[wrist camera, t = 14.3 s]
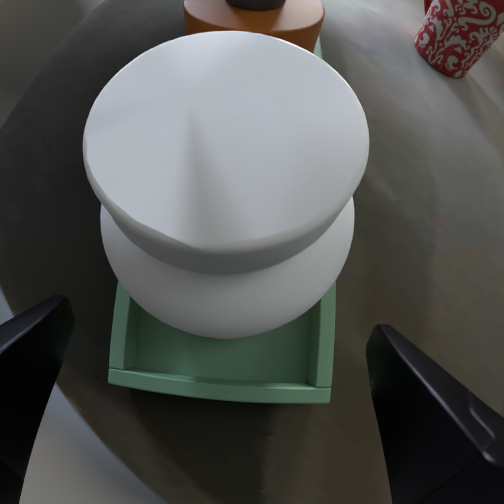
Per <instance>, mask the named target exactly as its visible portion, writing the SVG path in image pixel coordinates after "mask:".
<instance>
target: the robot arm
mask: <svg viewBox="0 0 504 504" xmlns="http://www.w3.org/2000/svg"><path fill="white" fill-rule="evenodd" d="M74 323H75V319H74V314H73V311H72V307H71V304H70V300H69V298H68V297H67V296H64V295H58V294H56V295H54V296H52V297H50V298H48V299H46V300H44V301H43V302H41V303H39V304H37V305H35V306H33V307H32V308H30V309H28V310H26V311H24V312H23V313H21V314H19V315H17V316H15V317H14V318H12V319H10V320H9V321H7V322H5V323H3V324H2V325H0V504H19V501H20V496H21V491H22V487H23V483H24V478H25V474H26V470H27V466H28V463H29V459H30V455H31V452H32V448H33V445H34V442H35V438H36V435H37V432H38V429H39V426H40V423H41V420H42V416H43V414H44V411H45V408H46V405H47V402H48V399H49V397H50V394H51V392H52V389H53V386H54V384H55V381H56V379H57V376H58V374H59V371H60V368H61V366H62V362H63V359H64V356H65V353H66V349H67V346H68V343H69V340H70V336H71V333H72V330H73V327H74ZM366 357H367V365H368V372H369V380H370V388H371V395H372V400H373V404H374V409H375V413H376V417H377V422H378V427H379V431H380V436H381V441H382V446H383V451H384V456H385V461H386V467H387V472H388V478H389V484H390V490H391V496H392V503H393V504H504V417H502V416H501V415H499V414H498V413H497V412H495V411H494V410H493V409H491V408H490V407H489V406H488V405H486V404H485V403H484V402H483V401H481V400H480V399H479V398H478V397H477V396H475V395H474V394H473V393H472V392H471V391H469V390H468V389H467V388H466V387H465V386H464V385H462V384H461V383H460V382H459V381H458V380H456V379H455V378H454V377H453V376H452V375H450V374H449V373H448V372H447V371H446V370H444V369H443V368H442V367H441V366H439V365H438V364H437V363H436V362H435V361H433V360H432V359H431V358H430V357H428V356H427V355H426V354H425V353H424V352H422V351H421V350H420V349H419V348H417V347H416V346H415V345H414V344H413V343H411V342H410V341H409V340H408V339H406V338H405V337H404V336H403V335H401V334H400V333H399V332H398V331H396V330H395V329H394V328H393V327H391V326H390V325H388V324H378V325H376V326H375V327H374V328H373V331H372V333H371V335H370V338H369V340H368V342H367V345H366Z"/></svg>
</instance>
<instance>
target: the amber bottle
mask: <svg viewBox="0 0 504 504" xmlns="http://www.w3.org/2000/svg"><path fill="white" fill-rule="evenodd" d="M183 7H184V20H185V31H186V36H188V35H193V34H198V33H205V32H215V31H243V32H251V33H257V34H263V35H267V36H271V37H274V38H278V39H282V40H285V41H287V42H289V43H292V44H294V45H297V46H299V47H301V48H303V49H305V50H307V51H309V52H311V53H312V54H313V53H314V49H315V46H316V42H317V39H318V36H319V32H320V29H321V25H322V22H323V18H324V14H325V13H324V8H323V5H322V4H321V2H320V1H319V0H184V4H183Z"/></svg>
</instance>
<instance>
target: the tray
mask: <svg viewBox="0 0 504 504" xmlns="http://www.w3.org/2000/svg"><path fill="white" fill-rule="evenodd" d="M313 54H314V55H316V56H317V57H319V58H320V59H322V60H323V58H322V51H321V44H320V38H319V36H318V39H317V42H316V46H315V49H314V53H313ZM335 304H336V280H335V282H334V283H333V284H332V286H331V287H330V288H329V290H328V291H327V292H326V293H325V294H324V296H323V297H322V298H321V299H320V300H319V301H318V302H317V303H316V304H315V305H314V306H312V307H311V308H310V309H309V310H307V311H306V312H305V313H303V314H302V315H300V316H299V317H297V318H296V319H294V320H292V321H290V322H288V323H286V324H284V325H282V326H280V327H278V328H276V329H273V330H271V331H268V332H265V333H262V334H258V335H254V336H250V337H246V338H242V339H234V340H222V339H215V338H209V337H204V336H198V335H194V334H191V333H188V332H185V331H182V330H179V329H177V328H174V327H172V326H170V325H168V324H166V323H164V322H162V321H160V320H159V319H157V318H155V317H154V316H152V315H151V314H150V313H148V312H147V311H145V310H144V309H143V308H142V307H141V306H140V305H139V304H137V303H136V301H135V300H134V299H133V298H132V297H131V296H130V295H129V294H128V293H127V291H126V290H125V289H124V287H123V286H122V284H121V283H120V282H119V280H118V286H117V293H116V301H115V308H114V317H113V326H112V335H111V346H110V358H109V367H110V368H109V376H108V383H110V384H114V385H119V386H124V387H129V388H134V389H139V390H145V391H151V392H157V393H164V394H171V395H178V396H186V397H194V398H203V399H213V400H224V401H237V402H254V403H282V404H319V403H329V402H330V394H331V388H329V387H331V383H332V369H333V353H334V333H335Z"/></svg>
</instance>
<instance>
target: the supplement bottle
mask: <svg viewBox="0 0 504 504" xmlns="http://www.w3.org/2000/svg"><path fill="white" fill-rule="evenodd" d="M368 153H369V132H368V126H367V121H366V117H365V113H364V111H363V108H362V106H361V104H360V102H359V100H358V98H357V96H356V95H355V93H354V92H353V90H352V89H351V87H350V86H349V84H348V83H347V82H346V81H345V80H344V79H343V78H342V77H341V76H340V74H339V73H338V72H337V71H336V70H334V69H333V68H332V67H331V66H330V65H328V64H327V63H326V62H324V61H323V60H322V59H320V58H319V57H317V56H316V55H314V54H312V53H311V52H309V51H307V50H305V49H303V48H301V47H299V46H297V45H294V44H292V43H289V42H287V41H285V40H282V39H278V38H274V37H271V36H267V35H263V34H257V33H251V32H243V31H215V32H205V33H198V34H193V35H188V36H184V37H180V38H177V39H174V40H171V41H168V42H165V43H163V44H161V45H159V46H156V47H154V48H152V49H150V50H148V51H146V52H145V53H143V54H141V55H140V56H138V57H136V58H135V59H134V60H133V61H131V62H130V63H129V64H127V65H126V66H125V67H124V68H122V69H121V70H120V71H119V72H118V73H117V74H116V75H115V76H114V77H113V78H112V79H111V80H110V81H109V82H108V84H107V85H106V86H105V87H104V88H103V90H102V91H101V92H100V94H99V95H98V97H97V98H96V100H95V102H94V104H93V106H92V109H91V111H90V114H89V116H88V119H87V122H86V126H85V130H84V136H83V157H84V165H85V169H86V173H87V177H88V180H89V182H90V184H91V186H92V189H93V191H94V192H95V194H96V196H97V197H98V199H99V200H100V202H101V203H102V205H101V234H102V239H103V244H104V248H105V252H106V255H107V258H108V260H109V262H110V265H111V267H112V269H113V271H114V273H115V275H116V277H117V278H118V280H119V282H120V283H121V284H122V286H123V287H124V289H125V290H126V291H127V293H128V294H129V295H130V296H131V297H132V298H133V299H134V300H135V301H136V303H137V304H139V305H140V306H141V307H142V308H143V309H144V310H145V311H147V312H148V313H150V314H151V315H152V316H154V317H155V318H157V319H159V320H160V321H162V322H164V323H166V324H168V325H170V326H172V327H174V328H177V329H179V330H182V331H185V332H188V333H191V334H194V335H198V336H204V337H209V338H215V339H222V340H234V339H242V338H246V337H250V336H254V335H258V334H262V333H265V332H268V331H271V330H273V329H276V328H278V327H280V326H282V325H284V324H286V323H288V322H290V321H292V320H294V319H296V318H297V317H299V316H300V315H302V314H303V313H305V312H306V311H307V310H309V309H310V308H311V307H312V306H314V305H315V304H316V303H317V302H318V301H319V300H320V299H321V298H322V297H323V296H324V294H325V293H326V292H327V291H328V290H329V288H330V287H331V286H332V284H333V283H334V282H335V280H336V278H337V277H338V275H339V273H340V272H341V270H342V268H343V265H344V263H345V261H346V258H347V256H348V253H349V249H350V246H351V242H352V237H353V231H354V203H353V197H352V195H353V193H354V192H355V190H356V188H357V187H358V185H359V183H360V181H361V179H362V176H363V174H364V171H365V168H366V164H367V160H368Z"/></svg>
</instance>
